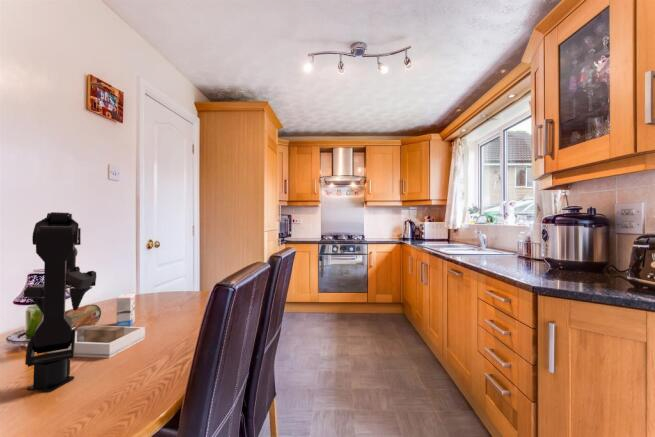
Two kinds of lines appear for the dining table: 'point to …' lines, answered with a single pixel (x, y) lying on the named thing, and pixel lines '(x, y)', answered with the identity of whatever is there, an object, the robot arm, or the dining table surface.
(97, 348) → the bin
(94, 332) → the strut
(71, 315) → the tin
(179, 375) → the dining table surface
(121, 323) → the ink box
